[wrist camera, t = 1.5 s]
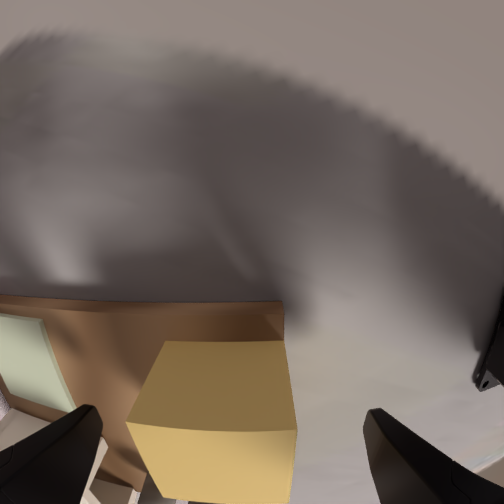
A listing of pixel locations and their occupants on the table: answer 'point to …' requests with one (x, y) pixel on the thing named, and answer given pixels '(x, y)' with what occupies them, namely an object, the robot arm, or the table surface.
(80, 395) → the board
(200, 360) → the block
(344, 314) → the table surface
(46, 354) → the thin mint green panel
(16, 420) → the cover
